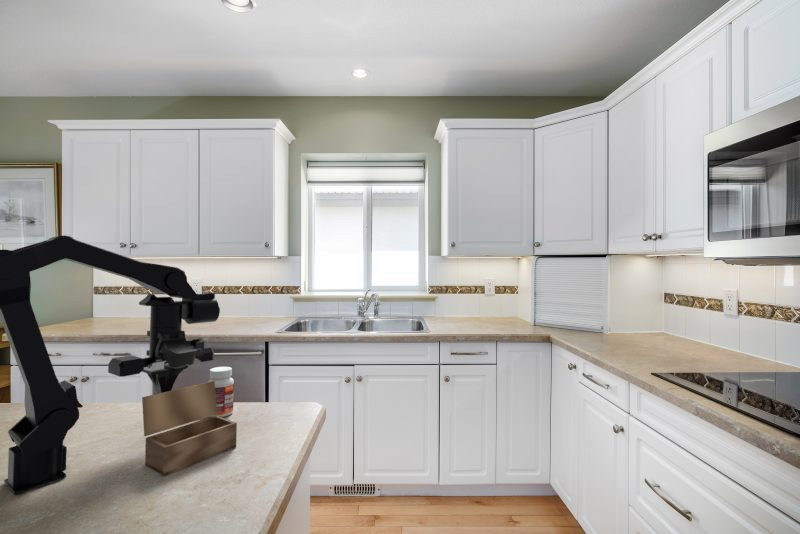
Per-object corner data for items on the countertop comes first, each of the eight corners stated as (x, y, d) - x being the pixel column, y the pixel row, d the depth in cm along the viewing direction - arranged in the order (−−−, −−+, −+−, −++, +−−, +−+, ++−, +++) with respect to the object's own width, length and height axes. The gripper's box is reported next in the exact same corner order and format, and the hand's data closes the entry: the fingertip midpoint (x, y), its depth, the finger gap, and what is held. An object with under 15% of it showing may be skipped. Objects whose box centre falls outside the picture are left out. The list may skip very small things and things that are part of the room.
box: (164, 476, 68) (165, 447, 68) (144, 465, 72) (145, 437, 72) (236, 447, 80) (236, 422, 80) (216, 438, 84) (216, 415, 84)
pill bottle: (229, 418, 96) (230, 371, 96) (202, 418, 95) (203, 372, 95) (236, 409, 102) (237, 365, 102) (211, 410, 101) (212, 366, 101)
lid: (143, 397, 73) (141, 397, 73) (145, 436, 72) (143, 435, 73) (214, 380, 85) (212, 380, 85) (216, 414, 84) (215, 414, 84)
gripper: (134, 335, 71) (132, 422, 70) (229, 325, 86) (227, 396, 86) (108, 329, 77) (105, 409, 76) (200, 320, 92) (199, 387, 92)
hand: (164, 400), depth 83 cm, fingers closed
